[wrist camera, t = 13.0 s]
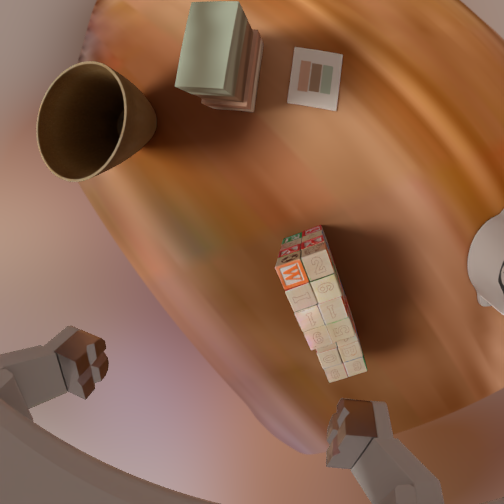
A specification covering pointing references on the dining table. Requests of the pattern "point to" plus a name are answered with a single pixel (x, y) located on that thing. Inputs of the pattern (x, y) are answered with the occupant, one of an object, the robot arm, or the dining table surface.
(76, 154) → the plant pot
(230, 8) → the brick sage
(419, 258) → the dining table surface
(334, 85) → the page
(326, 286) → the stack of blocks
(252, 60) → the base brick
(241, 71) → the brick walnut
